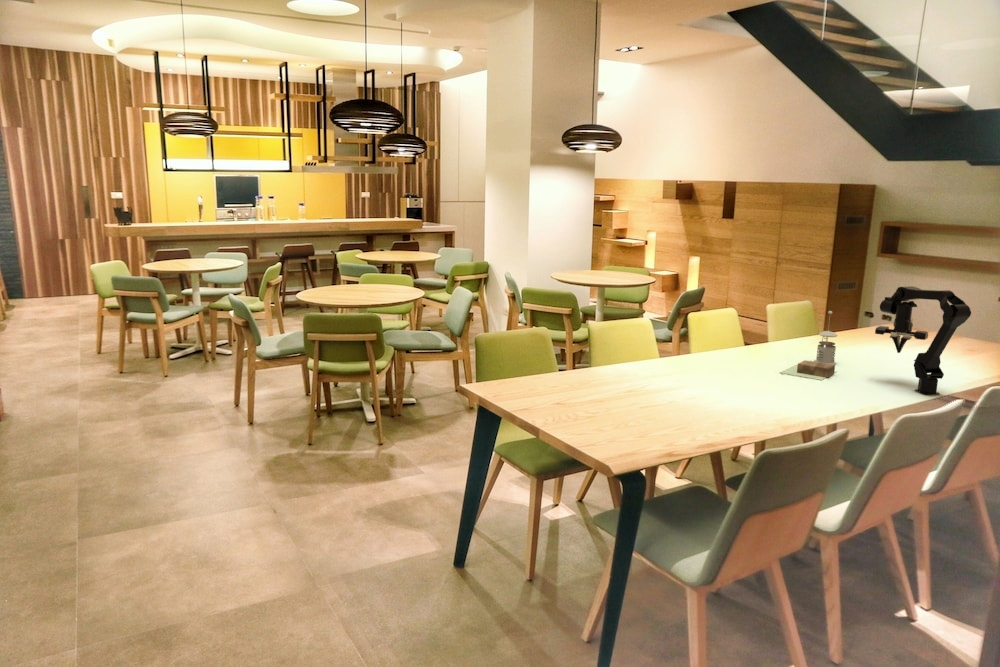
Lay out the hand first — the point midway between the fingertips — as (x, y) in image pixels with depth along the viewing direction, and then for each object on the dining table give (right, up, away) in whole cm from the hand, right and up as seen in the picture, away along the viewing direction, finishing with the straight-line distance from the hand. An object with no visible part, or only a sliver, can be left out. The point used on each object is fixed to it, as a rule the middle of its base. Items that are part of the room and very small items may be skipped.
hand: (898, 352), depth 293 cm
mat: (-30, -9, +18) cm, 36 cm away
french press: (-14, -6, +37) cm, 40 cm away
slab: (-23, -9, +11) cm, 27 cm away
